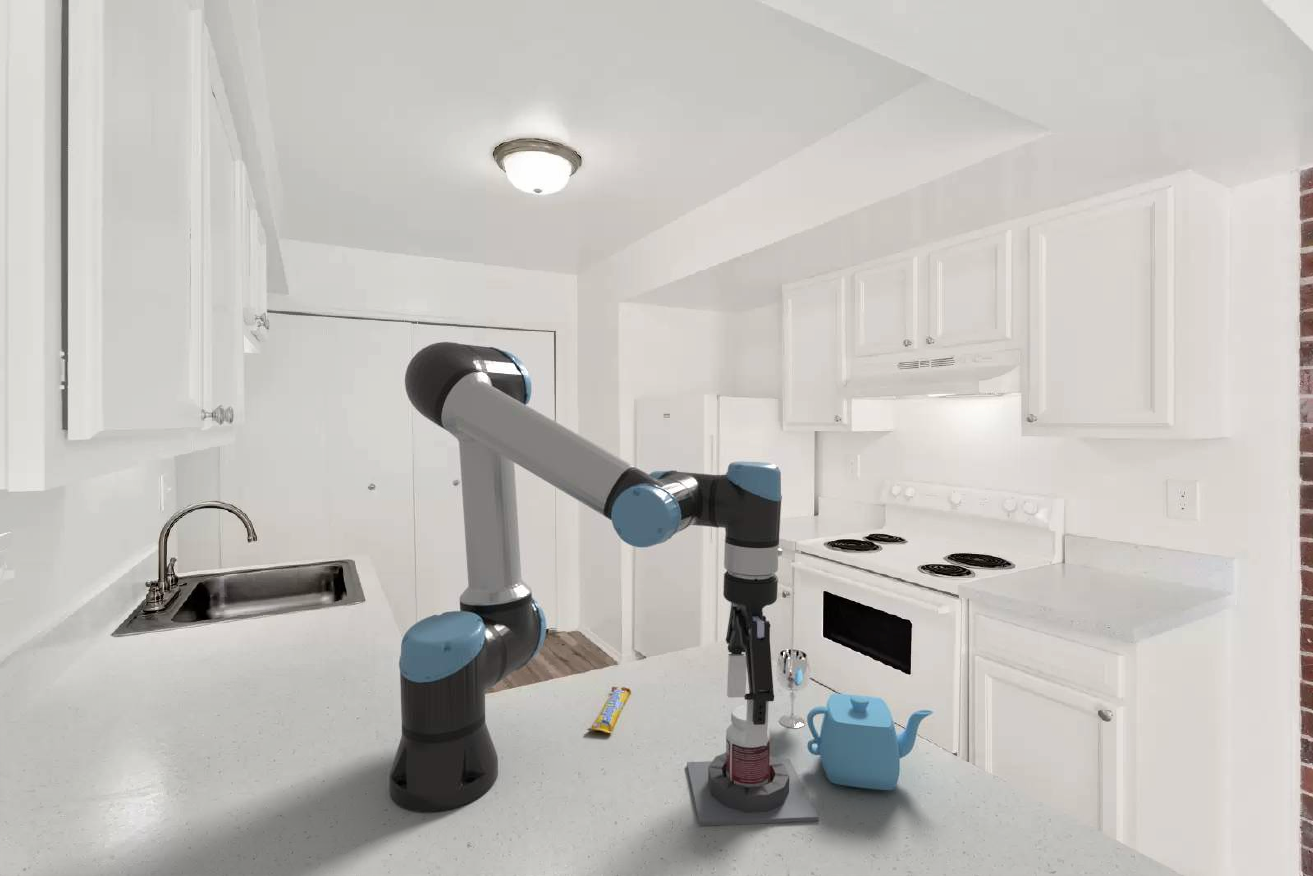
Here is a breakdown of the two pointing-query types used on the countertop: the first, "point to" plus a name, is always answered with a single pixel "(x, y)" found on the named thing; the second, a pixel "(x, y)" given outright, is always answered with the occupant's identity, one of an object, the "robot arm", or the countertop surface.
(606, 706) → the candy bar
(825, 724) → the teapot
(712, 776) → the grey ring base plate
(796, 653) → the wineglass
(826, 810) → the countertop surface
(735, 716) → the pill bottle
